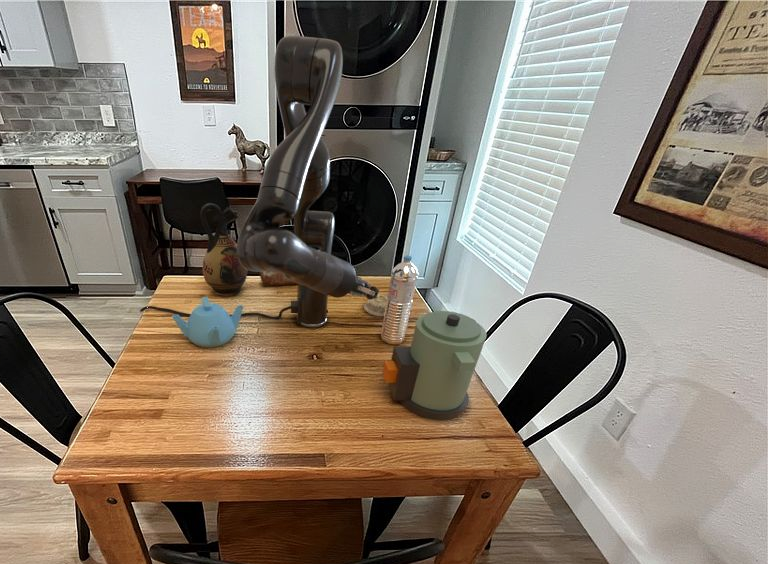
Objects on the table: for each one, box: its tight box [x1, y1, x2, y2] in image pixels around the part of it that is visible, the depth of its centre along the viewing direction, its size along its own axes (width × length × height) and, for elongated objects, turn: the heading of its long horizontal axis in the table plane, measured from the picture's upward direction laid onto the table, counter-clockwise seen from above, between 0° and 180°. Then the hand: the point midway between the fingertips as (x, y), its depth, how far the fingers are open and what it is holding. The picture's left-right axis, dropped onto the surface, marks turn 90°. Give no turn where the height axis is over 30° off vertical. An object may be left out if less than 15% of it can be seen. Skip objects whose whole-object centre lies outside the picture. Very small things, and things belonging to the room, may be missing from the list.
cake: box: [363, 293, 388, 317], centre depth 127 cm, size 10×10×5 cm
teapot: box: [172, 296, 244, 348], centre depth 110 cm, size 15×15×11 cm
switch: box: [381, 360, 398, 384], centre depth 87 cm, size 2×4×4 cm, turn 1°
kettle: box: [387, 310, 488, 421], centre depth 86 cm, size 18×23×22 cm
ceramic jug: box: [199, 202, 249, 297], centre depth 130 cm, size 17×15×30 cm
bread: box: [259, 272, 298, 286], centre depth 143 cm, size 6×19×6 cm, turn 95°
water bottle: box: [380, 254, 419, 346], centre depth 106 cm, size 7×7×25 cm
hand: (374, 293), depth 88 cm, fingers closed
